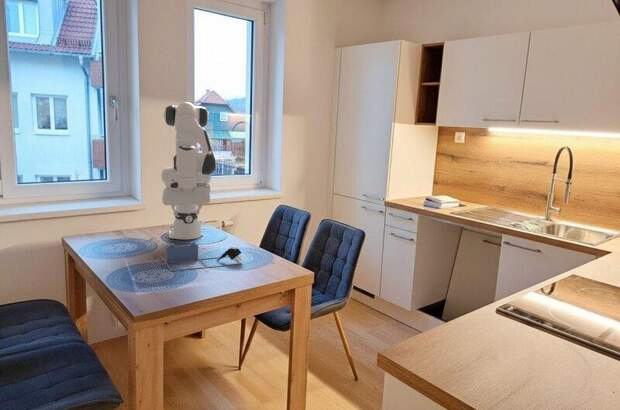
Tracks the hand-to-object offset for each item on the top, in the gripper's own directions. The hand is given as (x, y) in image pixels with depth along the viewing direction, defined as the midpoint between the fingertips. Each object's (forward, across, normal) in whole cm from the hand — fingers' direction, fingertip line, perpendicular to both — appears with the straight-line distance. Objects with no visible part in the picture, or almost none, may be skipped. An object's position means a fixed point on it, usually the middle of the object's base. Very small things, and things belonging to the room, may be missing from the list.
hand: (186, 214), depth 195 cm
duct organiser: (+23, -8, 0) cm, 24 cm away
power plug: (+25, -16, +1) cm, 30 cm away
